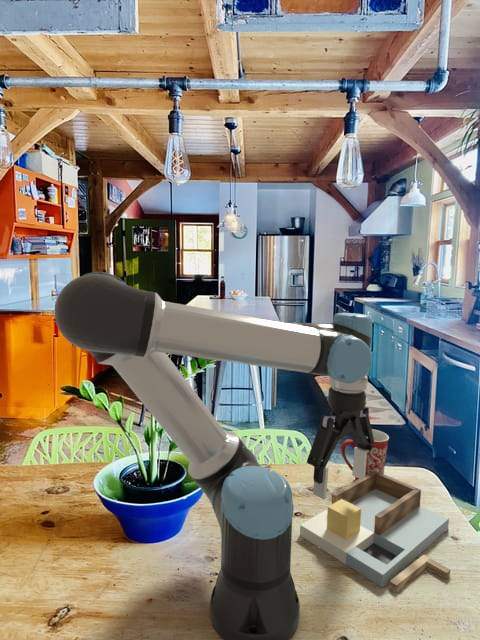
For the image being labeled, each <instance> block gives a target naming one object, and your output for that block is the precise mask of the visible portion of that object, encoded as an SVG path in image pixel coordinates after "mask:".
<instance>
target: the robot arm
mask: <svg viewBox="0 0 480 640" xmlns="http://www.w3.org/2000/svg"><path fill="white" fill-rule="evenodd" d="M54 319H55V324H56V326H57V329H58V331H59V332H60V333H61V335H62V336H63V337H64V338H65V339H66V341H68V342H69V343H70V344H72V345H73V346H75V347H78V348H79V349H81V350H84V351H87V352H89V354H90V355H91V356H92V357H93V358H94V359H95V361H96V362H97V364H100V365H108V366H112V367H113V369H114V370H115V371H116V372H117V374H118V375H119V376H120V377H121V378H122V379H123V381H125V383H126V384H127V386H128V387H129V389H131V391H132V392H133V393H134V394H135V396H136V397H137V398H138V400H139V401H140V402H141V403H142V404H143V405H144V407H145V408H146V409H147V410H148V412H149V413H150V414H151V416H152V417H153V418H154V419H155V420H156V422H157V423H158V424H159V425H160V426H161V428H162V429H163V430H164V432H166V434H167V435H168V437H169V438H170V439H171V440H172V442H173V443H174V444H175V445H176V446H177V448H178V449H179V450H180V451H181V453H182V454H183V455H184V457H186V459H187V460H188V461H189V464H188V468H187V469H188V474H189V476H190V477H191V479H193V481H194V483H195V484H196V485H197V486H198V487H199V489H200V490H201V491H202V492H203V493H204V494H205V496H206V498H207V499H208V500H209V502H210V505H211V507H212V509H213V512H214V514H215V517H216V520H217V522H218V523H217V524H218V525H219V528H220V537H221V539H220V540H221V542H220V543H221V544H220V550H221V551H220V552H221V553H220V569H219V572H218V574H217V578H216V581H215V585H214V586H213V589H212V591H211V594H210V598H209V599H210V600H209V601H210V603H209V617H210V621H211V624H212V626H213V628H214V630H215V632H216V633H217V634H218V635H219V636H220V637H221V638H222V639H223V640H289V639H291V637H292V636H293V635H294V634H295V633H296V631H297V629H298V625H299V621H300V605H301V604H300V599H299V598H300V597H299V595H298V593H297V590H296V586H295V583H294V579H293V575H292V573H291V563H292V562H291V557H292V537H293V536H292V535H293V534H292V533H293V517H294V502H293V491H292V488H291V486H290V484H289V482H288V481H287V479H286V478H285V477H284V476H283V475H282V474H280V473H279V472H277V471H276V470H272V471H271V470H270V468H268V467H265V466H261V465H260V463H259V462H258V460H257V457H256V456H255V455H254V453H253V452H252V451H251V450H250V449H249V448H248V447H247V446H246V444H245V443H244V442H243V441H242V439H241V438H240V437H239V435H238V434H237V433H236V432H234V431H225V430H224V428H223V427H222V426H221V424H220V423H219V421H217V419H216V418H215V416H214V415H213V414H212V413H211V411H210V410H209V408H208V407H207V406H206V405H205V403H204V402H203V401H202V399H201V398H200V397H199V395H198V394H197V393H196V391H195V390H194V389H193V387H192V386H191V385H190V384H189V382H188V381H187V380H186V378H185V377H184V375H183V374H182V373H181V372H180V370H179V369H178V367H177V366H176V365H175V363H174V362H173V361H172V360H171V358H170V357H169V356H168V354H170V355H176V356H185V357H192V358H200V359H206V360H213V361H221V362H226V363H227V362H228V363H235V364H241V365H242V364H243V365H249V366H256V367H265V368H269V369H270V368H271V369H276V370H277V369H278V370H286V371H294V372H300V373H306V374H312V375H317V376H325V377H329V379H328V385H329V386H330V387H329V388H328V394H327V405H328V406H329V407H330V409H331V413H330V416H326V415H324V414H322V415H321V416H320V417H319V418H320V419H319V427H318V429H317V431H316V434H315V437H314V440H313V442H312V445H311V447H310V448H311V449H310V450H309V454H308V456H307V459H306V463H307V464H308V465H311V466H312V467H313V490H312V491H313V492H312V494H313V495H314V496H316V497H318V498H320V499H322V500H323V501H326V499H327V494H328V493H327V492H328V481H329V467H328V466H327V464H328V463H329V462H330V461H329V460H330V458H331V456H332V455H333V454H334V451H335V449H336V447H337V446H338V443H339V441H340V440H342V439H343V438H344V436H345V435H347V434H348V433H350V434H351V436H352V438H353V440H354V441H355V442H356V444H357V446H359V448H358V447H354V446H353V461H352V467H353V471H352V472H351V476H353V477H354V478H355V477H357V478H359V479H361V480H364V479H365V469H366V457H367V450H369V451H371V450H372V448H373V446H371V445H373V444H374V438H373V433H372V429H373V428H372V425H371V419H370V408H369V407H368V406H366V401H367V392H366V391H365V390H366V389H367V386H368V385H367V384H368V379H369V378H368V373H369V371H370V369H371V367H372V362H373V356H372V352H371V351H372V350H371V340H372V338H373V335H372V318H371V317H370V316H369V315H367V314H364V313H363V314H362V313H357V312H356V313H355V312H353V313H351V312H338V313H335V314H334V316H333V320H332V322H329V323H318V322H315V323H314V322H311V323H310V322H297V321H294V322H281V321H277V320H275V321H274V320H270V319H264V318H258V317H254V316H250V315H249V316H248V315H242V314H237V313H231V312H227V311H220V310H215V309H209V308H204V307H198V306H194V305H187V304H182V303H175V302H170V301H165V300H163V299H162V298H161V296H160V295H159V294H158V293H157V292H154V291H147V290H143V289H139V288H135V287H133V286H130V285H128V284H127V283H126V282H125V281H124V280H122V279H121V278H120V277H117V276H116V275H115V274H111V273H108V272H103V271H95V272H89V273H84V274H83V275H81V276H78V277H76V278H74V279H73V280H71V281H69V282H68V283H67V284H66V285H65V286H64V287H63V288H62V289H61V291H60V293H59V294H58V296H57V298H56V301H55V304H54ZM366 436H367V437H368V438H367V437H366ZM370 444H371V445H370Z"/></svg>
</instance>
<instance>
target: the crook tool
mask: <svg viewBox="0 0 480 640" xmlns="http://www.w3.org/2000/svg"><path fill="white" fill-rule="evenodd" d="M425 569H427V570H430V571H431V572H433V573H435V574H436V575H438V576H440V577H442V578H443V579H445V580H447V579H449V578H450V577H451V569H449V567H446V566H445V565H443V564H441V563H440V562H437V561H436V560H434V559H432V558H430V557H429V556H427V555H425V554H423V555H421V556H420V557H419V558H417V559H416V560H415V561H413V562H411V564H409V566H408V565H407V566H406V567H405V568H404V569H402V570H401V571H400V572H399V573H398V574H397V575H396V576H394V577H393V578H392V579H391V580H390V581H389V586H388V587H389V589H391V590H393V591H394V592H395V593H397V592H398V591H399V590H401V589H402V588H403V587H404V586H406V585H407V584H408V583H410V582H411V581H412V580H413V579H414V578H415V577H417V576H418V575H419V574H420V573H421V572H423V571H425Z"/></svg>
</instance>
